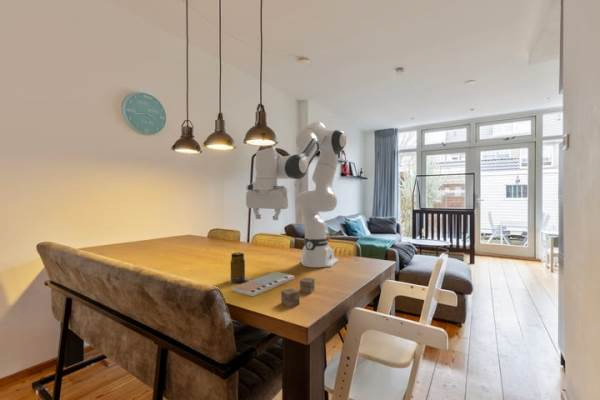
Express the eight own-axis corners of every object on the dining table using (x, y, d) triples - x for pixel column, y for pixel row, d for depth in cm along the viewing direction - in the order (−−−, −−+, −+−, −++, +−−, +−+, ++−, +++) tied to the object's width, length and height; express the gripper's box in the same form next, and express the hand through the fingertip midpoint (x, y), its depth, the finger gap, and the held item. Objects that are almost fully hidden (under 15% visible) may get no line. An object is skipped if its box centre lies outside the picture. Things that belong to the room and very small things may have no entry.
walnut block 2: (303, 288, 114) (303, 277, 114) (314, 289, 112) (314, 278, 112) (300, 292, 109) (300, 280, 109) (311, 293, 108) (311, 281, 108)
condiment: (233, 278, 128) (233, 251, 127) (251, 279, 126) (251, 252, 126) (227, 283, 120) (226, 255, 120) (246, 284, 119) (246, 255, 119)
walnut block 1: (292, 300, 101) (292, 288, 101) (299, 304, 98) (299, 291, 98) (281, 303, 99) (281, 290, 99) (288, 307, 95) (288, 294, 95)
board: (275, 274, 133) (275, 271, 133) (294, 278, 127) (294, 275, 127) (232, 290, 111) (232, 287, 111) (252, 296, 105) (252, 292, 105)
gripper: (291, 185, 114) (291, 220, 114) (253, 186, 126) (254, 217, 126) (281, 185, 109) (281, 221, 109) (243, 186, 120) (243, 218, 121)
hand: (266, 219), depth 118 cm, fingers open, 8 cm apart
